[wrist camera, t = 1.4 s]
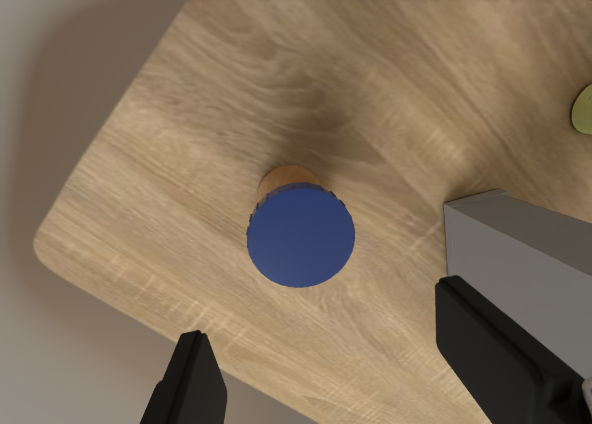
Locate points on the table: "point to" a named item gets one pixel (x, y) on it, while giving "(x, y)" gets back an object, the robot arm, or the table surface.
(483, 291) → the tall grey upright box
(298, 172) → the jam jar
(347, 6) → the table surface
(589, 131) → the tube
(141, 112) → the table surface
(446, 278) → the robot arm
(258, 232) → the jar lid
